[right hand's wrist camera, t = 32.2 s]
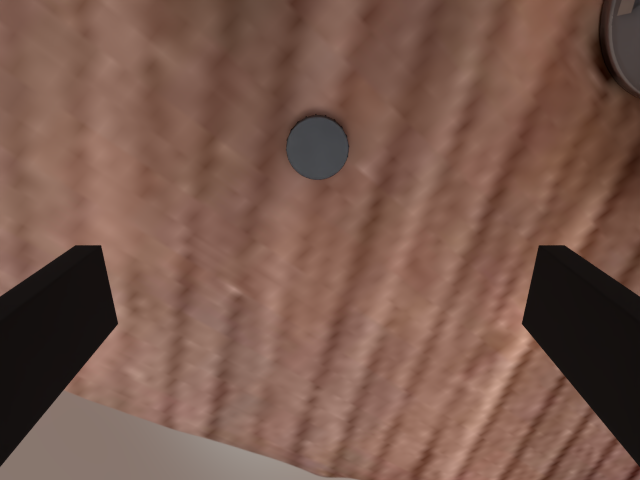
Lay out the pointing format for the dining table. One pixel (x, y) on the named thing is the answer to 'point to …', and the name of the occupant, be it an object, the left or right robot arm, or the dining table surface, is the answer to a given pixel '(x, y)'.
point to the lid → (317, 147)
